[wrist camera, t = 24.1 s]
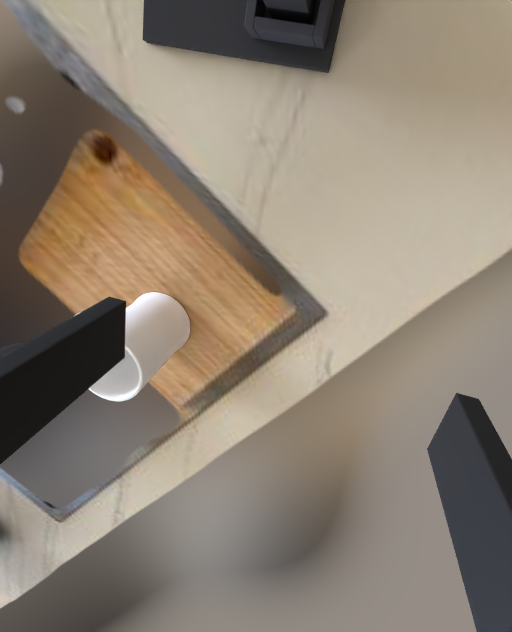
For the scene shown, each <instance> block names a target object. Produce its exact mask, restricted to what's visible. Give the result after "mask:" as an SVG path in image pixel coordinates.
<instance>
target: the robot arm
mask: <svg viewBox="0 0 512 632" xmlns="http://www.w3.org/2000/svg"><path fill="white" fill-rule="evenodd" d="M125 325H126V301H123V300H119V299H116V298H112V297H108V298H106V299H104V300H102V301H101V302H99V303H97V304H95V305H93V306H92V307H90V308H88V309H86V310H84V311H82V312H81V313H79V314H77V315H75V316H74V317H72V318H70V319H68V320H66V321H64V322H62V323H61V324H59V325H57V326H55V327H53V328H52V329H50V330H48V331H46V332H44V333H43V334H41V335H39V336H37V337H35V338H33V339H32V340H30V341H28V342H26V343H25V342H19V343H16V344H12V345H9V346H5V347H3V348H1V349H0V464H1V463H2V462H3V461H5V460H6V459H7V458H8V457H9V456H11V455H12V454H13V453H14V452H15V451H16V450H18V449H19V448H20V447H21V446H22V445H23V444H25V443H26V442H27V441H28V440H29V439H30V438H31V437H32V436H34V435H35V434H36V433H37V432H39V431H40V430H41V429H42V428H43V427H44V426H45V425H47V424H48V423H49V422H50V421H51V420H52V419H54V418H55V417H56V416H57V415H58V414H59V413H61V412H62V411H63V410H64V409H65V408H66V407H68V406H69V405H70V404H71V403H72V402H73V401H75V400H76V399H77V398H78V397H79V396H80V395H82V394H83V393H84V392H85V391H86V390H87V389H89V388H90V387H91V386H92V385H93V384H94V383H96V382H97V381H98V380H99V379H100V378H101V377H103V376H104V375H105V374H106V373H107V372H108V371H110V370H111V369H112V368H113V367H114V366H115V365H117V364H118V363H119V362H120V361H121V360H122V359H124V358H125ZM427 450H428V453H429V457H430V461H431V465H432V468H433V472H434V475H435V479H436V483H437V487H438V490H439V494H440V498H441V501H442V505H443V509H444V512H445V516H446V520H447V523H448V527H449V531H450V534H451V538H452V542H453V545H454V549H455V553H456V556H457V560H458V564H459V568H460V571H461V575H462V579H463V582H464V586H465V590H466V593H467V597H468V601H469V604H470V608H471V611H472V615H473V619H474V623H475V627H476V630H477V632H512V459H511V457H510V455H509V454H508V452H507V450H506V448H505V446H504V444H503V443H502V441H501V439H500V437H499V435H498V433H497V432H496V430H495V428H494V426H493V424H492V422H491V421H490V419H489V417H488V415H487V414H486V412H485V410H484V408H483V406H482V404H481V402H480V401H479V399H476V398H473V397H469V396H466V395H462V394H458V393H456V395H455V397H454V399H453V400H452V402H451V404H450V406H449V409H448V410H447V412H446V414H445V416H444V418H443V420H442V422H441V423H440V425H439V427H438V429H437V431H436V433H435V435H434V437H433V439H432V441H431V443H430V445H429V447H428V448H427Z"/></svg>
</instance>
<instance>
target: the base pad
mask: <svg viewBox="0 0 512 632" xmlns="http://www.w3.org/2000/svg"><path fill="white" fill-rule="evenodd" d="M344 2H345V0H317V2H316V7H315V12H314V18H313V23H312V25H311V24H304V23H297V22H290V21H283V20H277V19H272V17H271V15H270V13H269V11H268V9H267V7H266V5H265V3H264V1H263V0H144V18H143V40H144V41H146V42H147V43H151V44H157V45H163V46H169V47H176V48H182V49H188V50H194V51H200V52H206V53H212V54H218V55H224V56H230V57H236V58H242V59H248V60H254V61H260V62H266V63H272V64H278V65H285V66H291V67H297V68H303V69H309V70H315V71H321V72H327V73H329V69H330V65H331V60H332V56H333V51H334V47H335V42H336V38H337V33H338V29H339V24H340V20H341V15H342V11H343V6H344Z"/></svg>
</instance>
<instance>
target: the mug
mask: <svg viewBox="0 0 512 632" xmlns="http://www.w3.org/2000/svg"><path fill="white" fill-rule="evenodd" d="M80 313H81V312H80ZM78 314H79V313H78ZM76 315H77V314H76ZM189 335H190V321H189V317H188V315H187V313H186V311H185V310H184V308H183V307H182V306H181V304H180V303H179V302H177V301H176V300H175V299H173V298H172V297H170V296H168V295H166V294H163V293H157V292H151V293H146V294H144V295H142V296H140V297H139V298H138V299H136V301H135V302H134V303H133V304H131V305H130V306H129V307H127V308H126V325H125V358H124V359H122V360H121V361H120V362H119V363H118V364H117V365H115V366H114V367H113V368H112V369H111V370H110V371H108V372H107V373H106V374H105V375H104V376H103V377H101V378H100V379H99V380H98V381H97V382H96V383H94V384H93V385H92V386H91V387H90V388H89V390H90V391H92V392H93V393H95V394H96V395H98V396H100V397H102V398H104V399H108V400H111V401H125V400H128V399H131V398H132V397H134V396H135V395H136V394H137V393H138V392H139V391H140V390H141V389H142V388H143V387H144V386H145V385H146V383H147V382H148V381H149V380H150V379H151V378H152V377H153V376H154V375H155V373H156V372H157V371H158V370H159V369H160V368H161V367H162V366H163V365H164V364H165V362H166V361H167V360H168V359H169V358H170V357H171V356H172V355H173V354H174V353H175V351H176V350H178V349H179V348H181V347H182V346H183V345H184V344H185V343H186V342H187V340H188V338H189Z"/></svg>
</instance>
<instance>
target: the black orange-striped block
mask: <svg viewBox="0 0 512 632" xmlns="http://www.w3.org/2000/svg"><path fill="white" fill-rule="evenodd" d="M263 1H264V3H265V5H266V7H267V9H268V11H269V13H270V15H271V17H272V19H277V20H283V21H290V22H297V23H304V24H311V25H312V23H313V18H314V12H315V7H316V2H317V0H263Z"/></svg>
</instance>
